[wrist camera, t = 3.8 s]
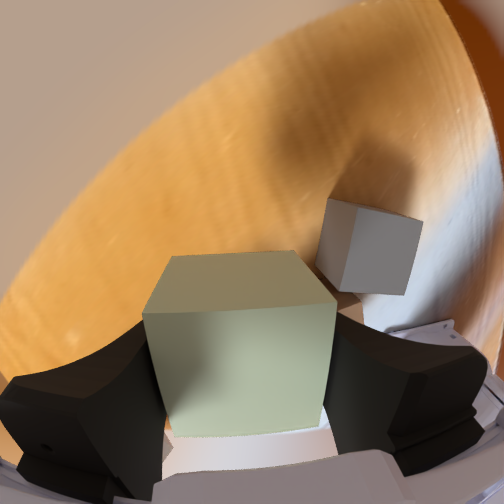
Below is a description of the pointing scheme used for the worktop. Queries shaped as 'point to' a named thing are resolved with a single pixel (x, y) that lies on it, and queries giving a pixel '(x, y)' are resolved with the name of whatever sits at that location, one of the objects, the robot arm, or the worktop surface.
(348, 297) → the walnut block
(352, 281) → the charcoal block
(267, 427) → the sage block
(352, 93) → the worktop surface
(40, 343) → the worktop surface
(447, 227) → the worktop surface
